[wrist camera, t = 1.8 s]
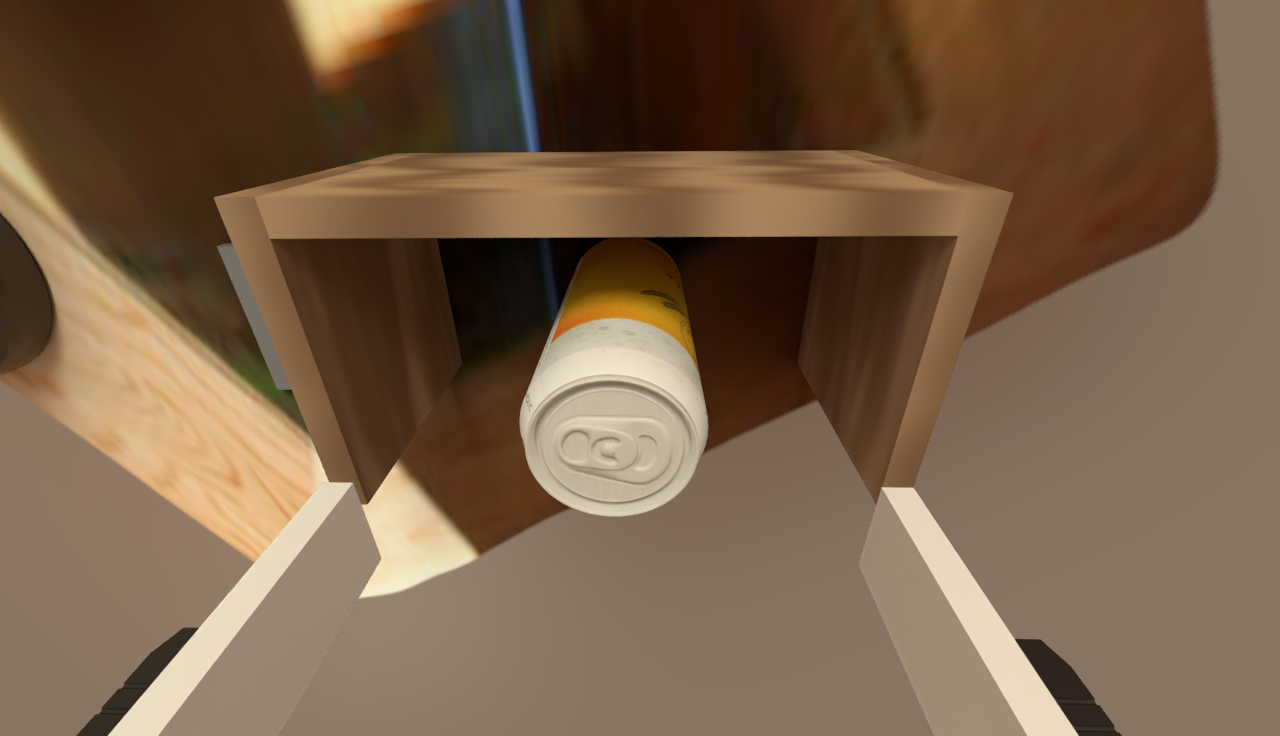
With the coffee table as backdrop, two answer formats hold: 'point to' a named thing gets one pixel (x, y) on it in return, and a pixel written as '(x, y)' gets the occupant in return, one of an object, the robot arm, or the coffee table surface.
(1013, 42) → the coffee table surface
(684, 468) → the beer can
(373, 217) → the wooden monitor riser
